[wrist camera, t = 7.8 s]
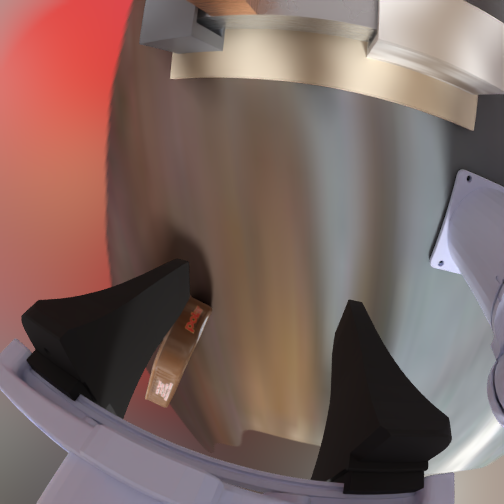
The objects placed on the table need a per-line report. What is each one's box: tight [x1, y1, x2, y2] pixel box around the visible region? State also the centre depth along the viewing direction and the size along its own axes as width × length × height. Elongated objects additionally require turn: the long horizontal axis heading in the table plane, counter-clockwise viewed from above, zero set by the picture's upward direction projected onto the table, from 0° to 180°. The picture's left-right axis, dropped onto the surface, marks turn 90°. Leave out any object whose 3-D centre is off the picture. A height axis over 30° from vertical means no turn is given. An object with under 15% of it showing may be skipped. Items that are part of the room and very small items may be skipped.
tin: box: [145, 295, 212, 407], centre depth 26 cm, size 15×3×8 cm, turn 156°
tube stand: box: [170, 0, 504, 131], centre depth 11 cm, size 22×10×5 cm, turn 85°
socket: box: [139, 0, 225, 54], centre depth 12 cm, size 4×6×5 cm, turn 175°
